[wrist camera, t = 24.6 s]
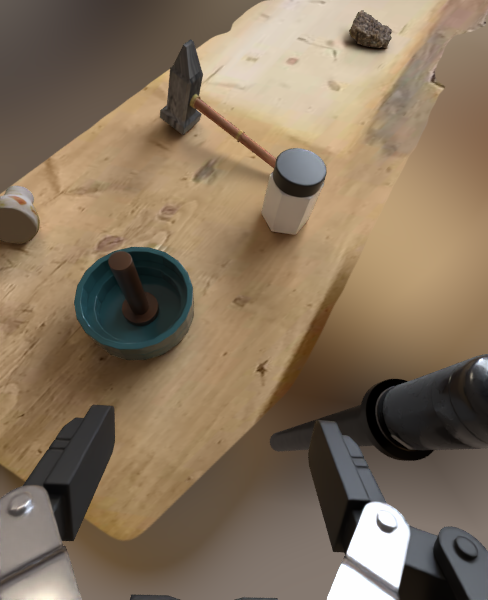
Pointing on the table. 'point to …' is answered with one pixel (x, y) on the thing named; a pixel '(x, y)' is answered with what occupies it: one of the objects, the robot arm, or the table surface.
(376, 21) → the concrete sample
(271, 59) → the table surface
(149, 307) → the brown flanged rod
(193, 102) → the hammer
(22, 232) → the mug
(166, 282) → the bowl
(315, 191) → the jar
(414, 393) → the robot arm
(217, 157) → the table surface
